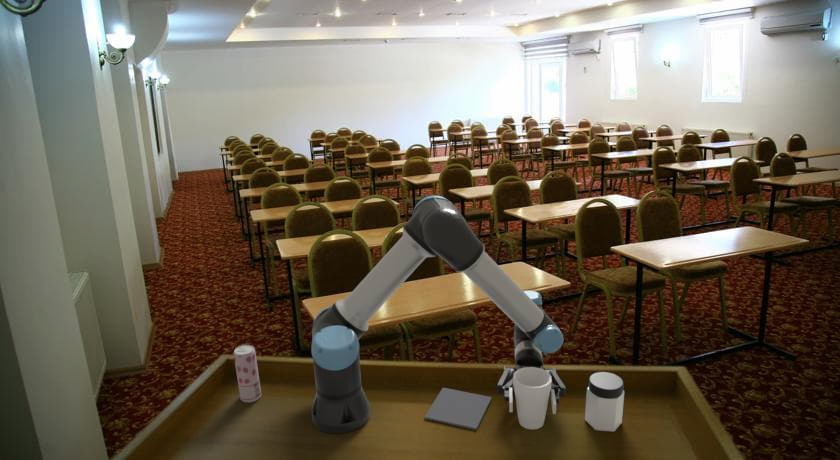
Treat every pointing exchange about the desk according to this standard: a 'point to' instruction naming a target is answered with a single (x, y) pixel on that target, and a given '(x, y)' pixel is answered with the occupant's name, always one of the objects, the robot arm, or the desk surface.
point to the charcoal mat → (459, 408)
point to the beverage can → (247, 373)
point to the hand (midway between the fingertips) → (532, 408)
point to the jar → (604, 401)
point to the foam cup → (531, 395)
